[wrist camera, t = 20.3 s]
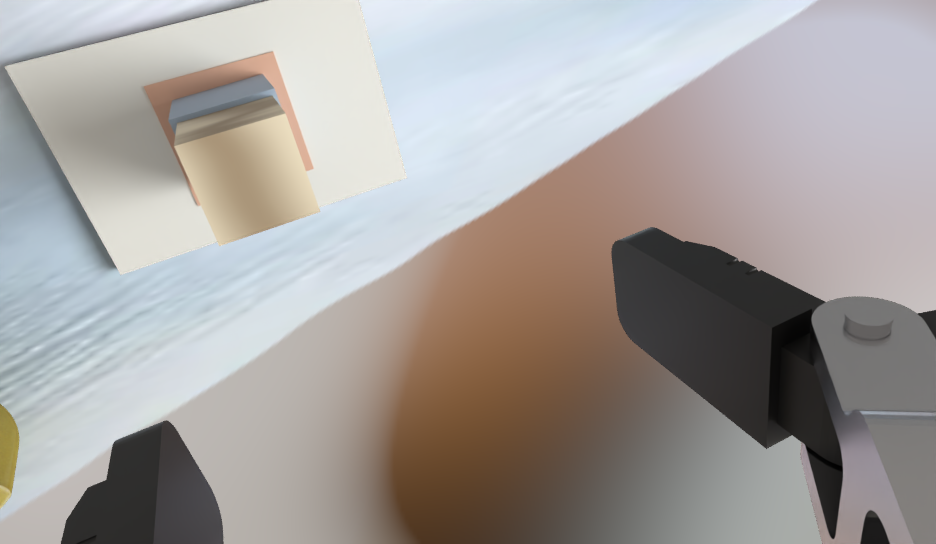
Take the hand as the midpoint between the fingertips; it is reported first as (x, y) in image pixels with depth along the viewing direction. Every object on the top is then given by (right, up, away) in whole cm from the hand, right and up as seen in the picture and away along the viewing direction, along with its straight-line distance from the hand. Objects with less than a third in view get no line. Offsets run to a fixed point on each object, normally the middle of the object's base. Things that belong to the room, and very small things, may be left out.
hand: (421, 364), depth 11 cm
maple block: (-10, +7, +19) cm, 23 cm away
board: (-13, +10, +25) cm, 30 cm away
